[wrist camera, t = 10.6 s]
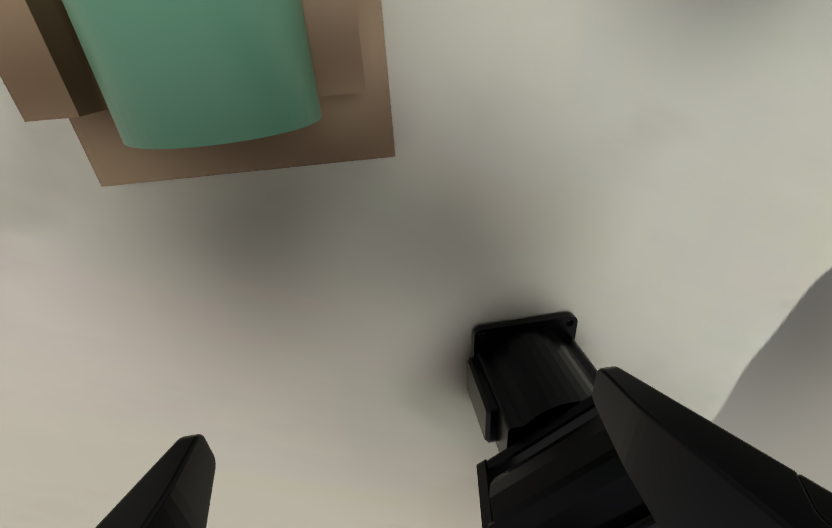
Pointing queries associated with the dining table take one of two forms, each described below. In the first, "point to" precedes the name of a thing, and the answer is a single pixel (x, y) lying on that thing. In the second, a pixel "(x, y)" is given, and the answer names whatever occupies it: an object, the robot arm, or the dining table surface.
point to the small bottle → (199, 68)
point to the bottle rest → (119, 164)
